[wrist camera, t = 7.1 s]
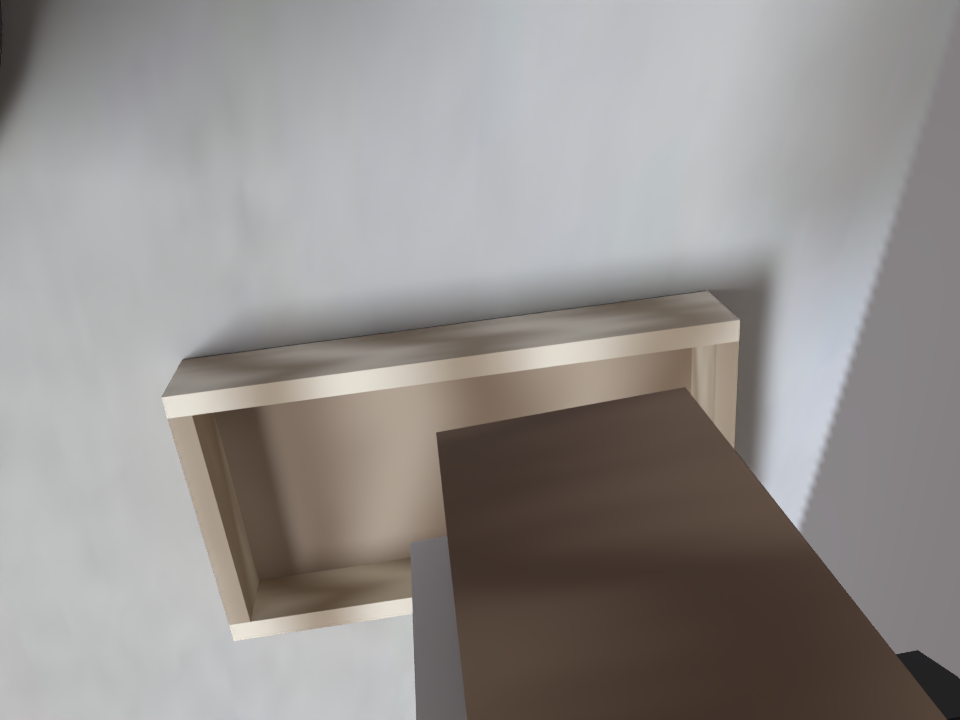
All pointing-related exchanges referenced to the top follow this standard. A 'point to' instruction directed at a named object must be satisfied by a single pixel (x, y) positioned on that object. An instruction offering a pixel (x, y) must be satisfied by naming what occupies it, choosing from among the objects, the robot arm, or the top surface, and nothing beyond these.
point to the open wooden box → (399, 439)
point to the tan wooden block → (646, 578)
